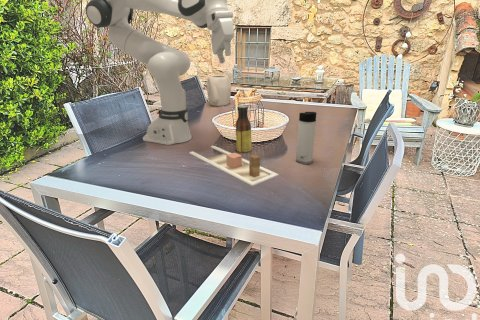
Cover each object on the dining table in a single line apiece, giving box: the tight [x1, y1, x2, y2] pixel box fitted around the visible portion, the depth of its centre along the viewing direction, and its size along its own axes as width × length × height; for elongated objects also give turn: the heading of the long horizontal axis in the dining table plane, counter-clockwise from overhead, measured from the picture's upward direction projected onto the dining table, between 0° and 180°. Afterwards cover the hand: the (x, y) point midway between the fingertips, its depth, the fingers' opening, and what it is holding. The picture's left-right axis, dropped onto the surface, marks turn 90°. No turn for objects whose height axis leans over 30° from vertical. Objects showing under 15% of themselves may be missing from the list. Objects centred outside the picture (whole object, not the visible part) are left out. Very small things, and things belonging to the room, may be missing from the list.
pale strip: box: [206, 153, 269, 182], centre depth 117 cm, size 26×8×8 cm, turn 40°
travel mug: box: [295, 111, 318, 165], centre depth 123 cm, size 6×7×20 cm
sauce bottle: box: [235, 104, 253, 154], centre depth 131 cm, size 7×6×20 cm
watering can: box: [206, 74, 232, 107], centre depth 212 cm, size 16×27×19 cm, turn 156°
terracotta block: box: [225, 152, 243, 169], centre depth 118 cm, size 4×4×4 cm
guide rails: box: [188, 145, 280, 187], centre depth 121 cm, size 38×12×2 cm, turn 40°
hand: (225, 59), depth 120 cm, fingers open, 8 cm apart
